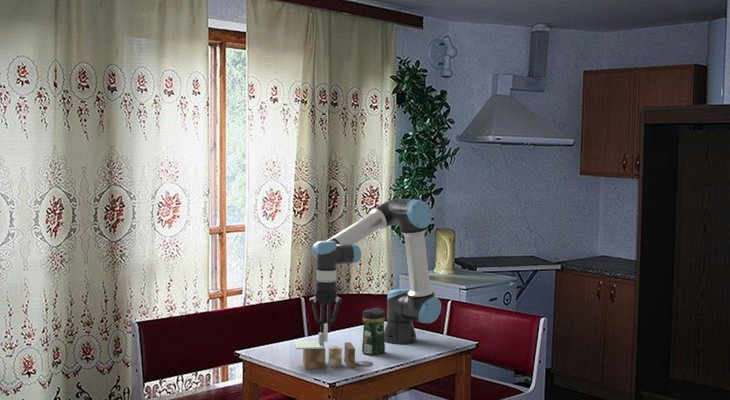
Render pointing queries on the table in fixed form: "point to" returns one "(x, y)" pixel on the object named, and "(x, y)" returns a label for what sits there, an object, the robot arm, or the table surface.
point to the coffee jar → (373, 331)
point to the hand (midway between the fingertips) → (325, 340)
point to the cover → (311, 343)
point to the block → (335, 356)
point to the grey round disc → (363, 363)
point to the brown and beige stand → (317, 357)
